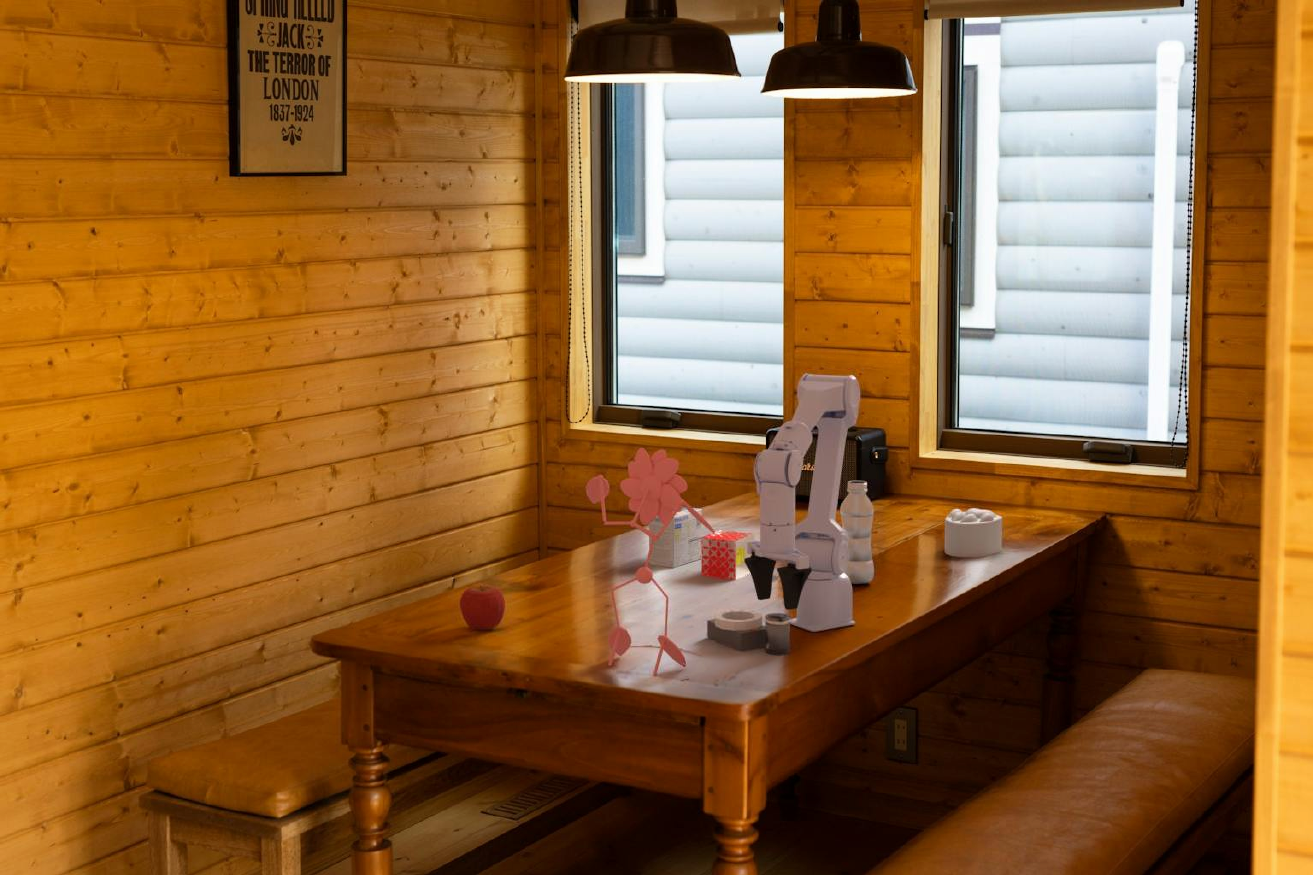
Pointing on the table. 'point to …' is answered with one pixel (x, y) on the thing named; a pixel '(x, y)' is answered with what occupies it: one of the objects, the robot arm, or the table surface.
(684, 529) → the light bulb box
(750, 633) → the camera body
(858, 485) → the plastic bottle
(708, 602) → the table surface
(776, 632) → the lens
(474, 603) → the apple
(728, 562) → the red patterned gift box
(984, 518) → the lumpy-topped squat cylinder
